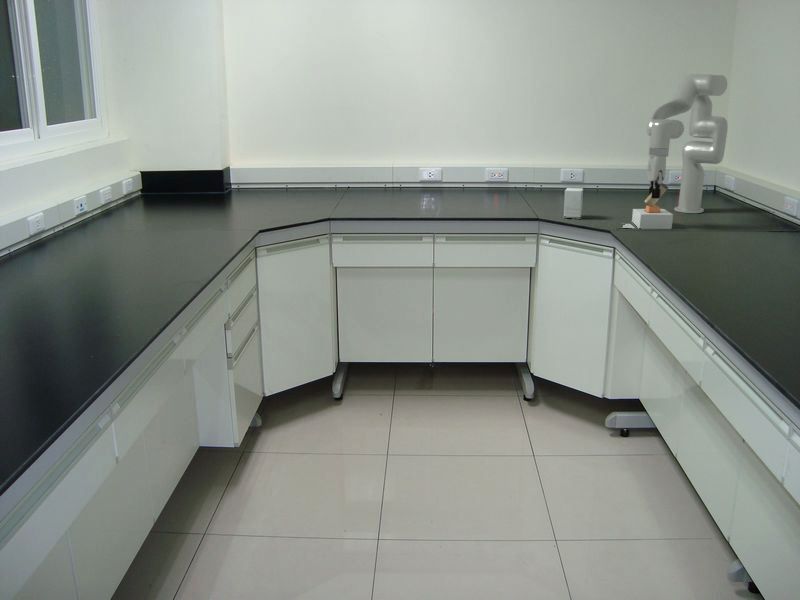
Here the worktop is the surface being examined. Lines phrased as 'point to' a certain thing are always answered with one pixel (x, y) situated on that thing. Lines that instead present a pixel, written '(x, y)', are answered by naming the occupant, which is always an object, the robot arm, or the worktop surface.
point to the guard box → (652, 219)
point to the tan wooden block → (653, 201)
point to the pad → (628, 226)
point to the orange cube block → (652, 209)
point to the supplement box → (573, 202)
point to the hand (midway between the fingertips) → (653, 197)
